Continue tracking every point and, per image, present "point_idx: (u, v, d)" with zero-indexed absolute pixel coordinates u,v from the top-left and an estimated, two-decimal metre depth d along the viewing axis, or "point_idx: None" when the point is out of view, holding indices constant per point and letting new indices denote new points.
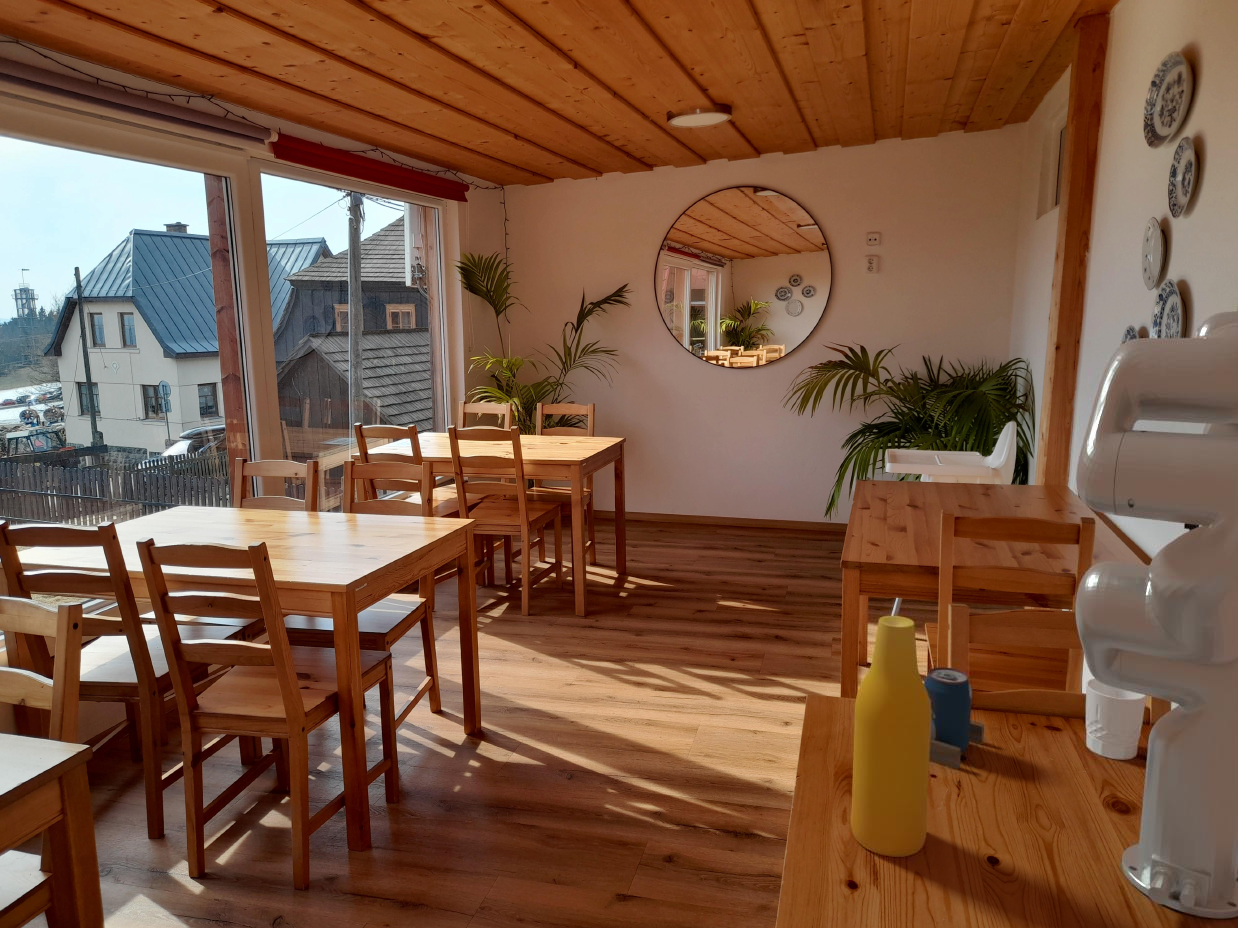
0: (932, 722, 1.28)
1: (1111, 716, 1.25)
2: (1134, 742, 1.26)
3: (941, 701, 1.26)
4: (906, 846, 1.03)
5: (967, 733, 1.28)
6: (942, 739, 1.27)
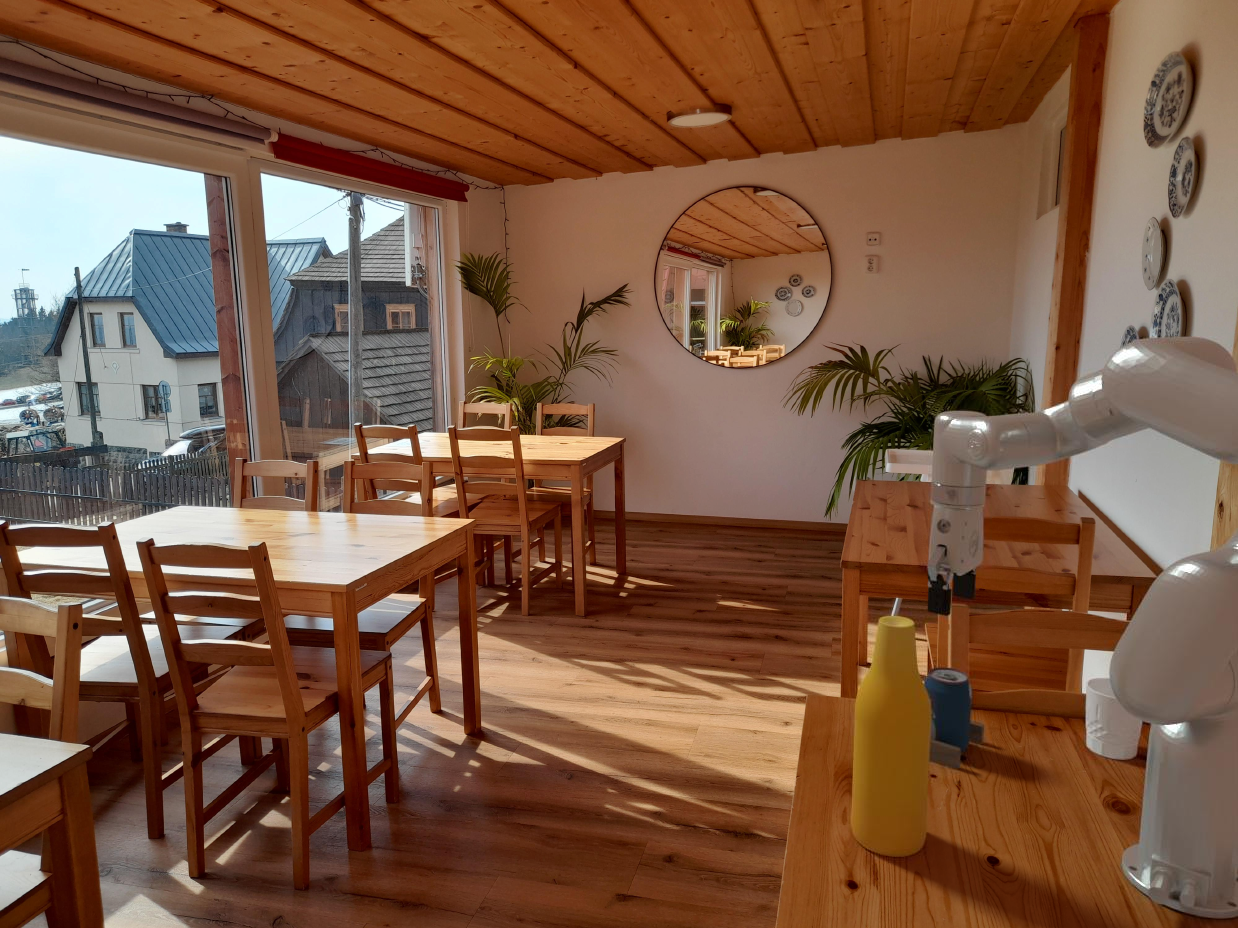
0: (932, 722, 1.28)
1: (1111, 716, 1.25)
2: (1134, 742, 1.26)
3: (941, 701, 1.26)
4: (906, 846, 1.03)
5: (967, 733, 1.28)
6: (942, 739, 1.27)
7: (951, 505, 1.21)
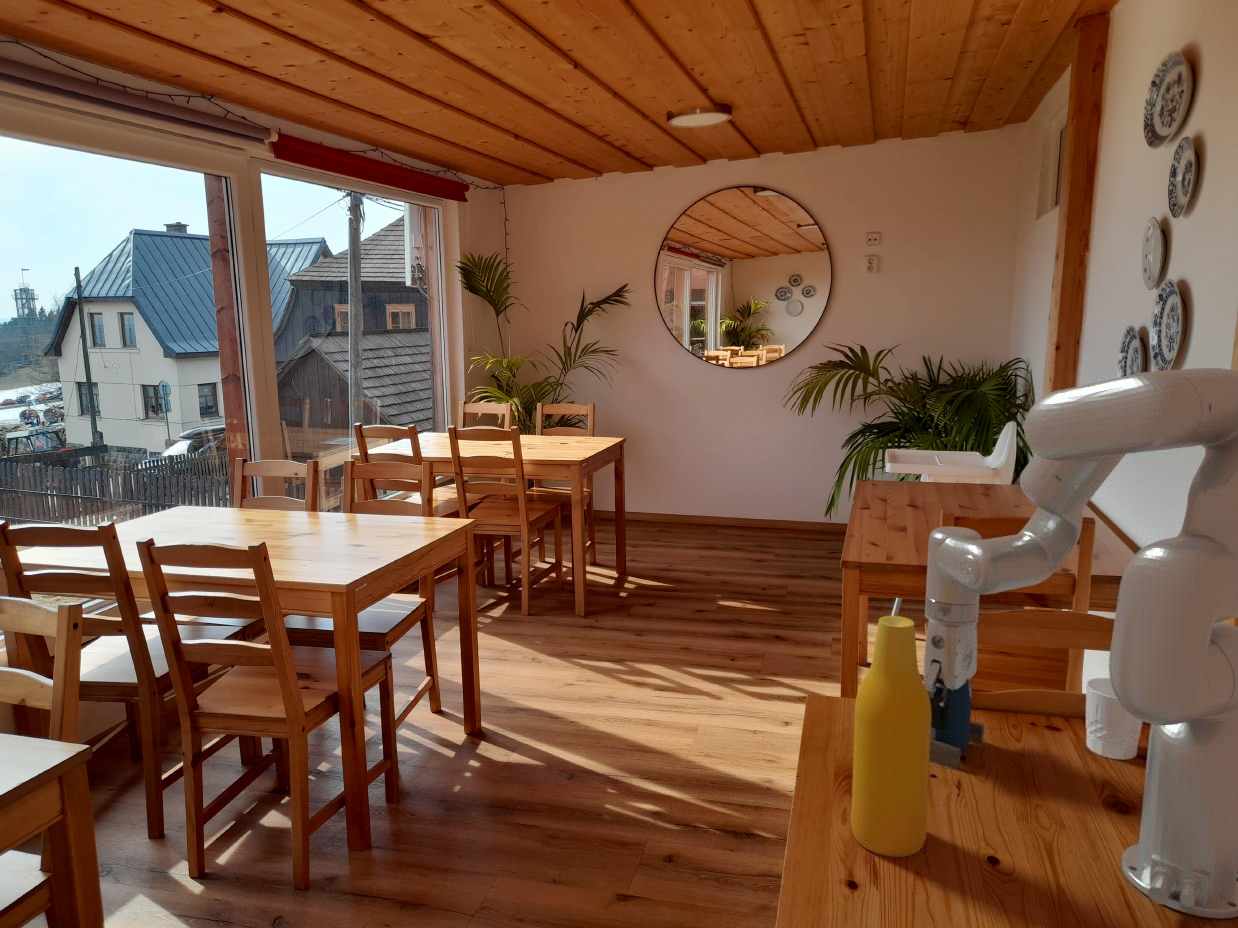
0: None
1: (1111, 716, 1.25)
2: (1134, 742, 1.26)
3: None
4: (906, 846, 1.03)
5: (967, 733, 1.28)
6: (942, 739, 1.27)
7: (945, 621, 1.24)
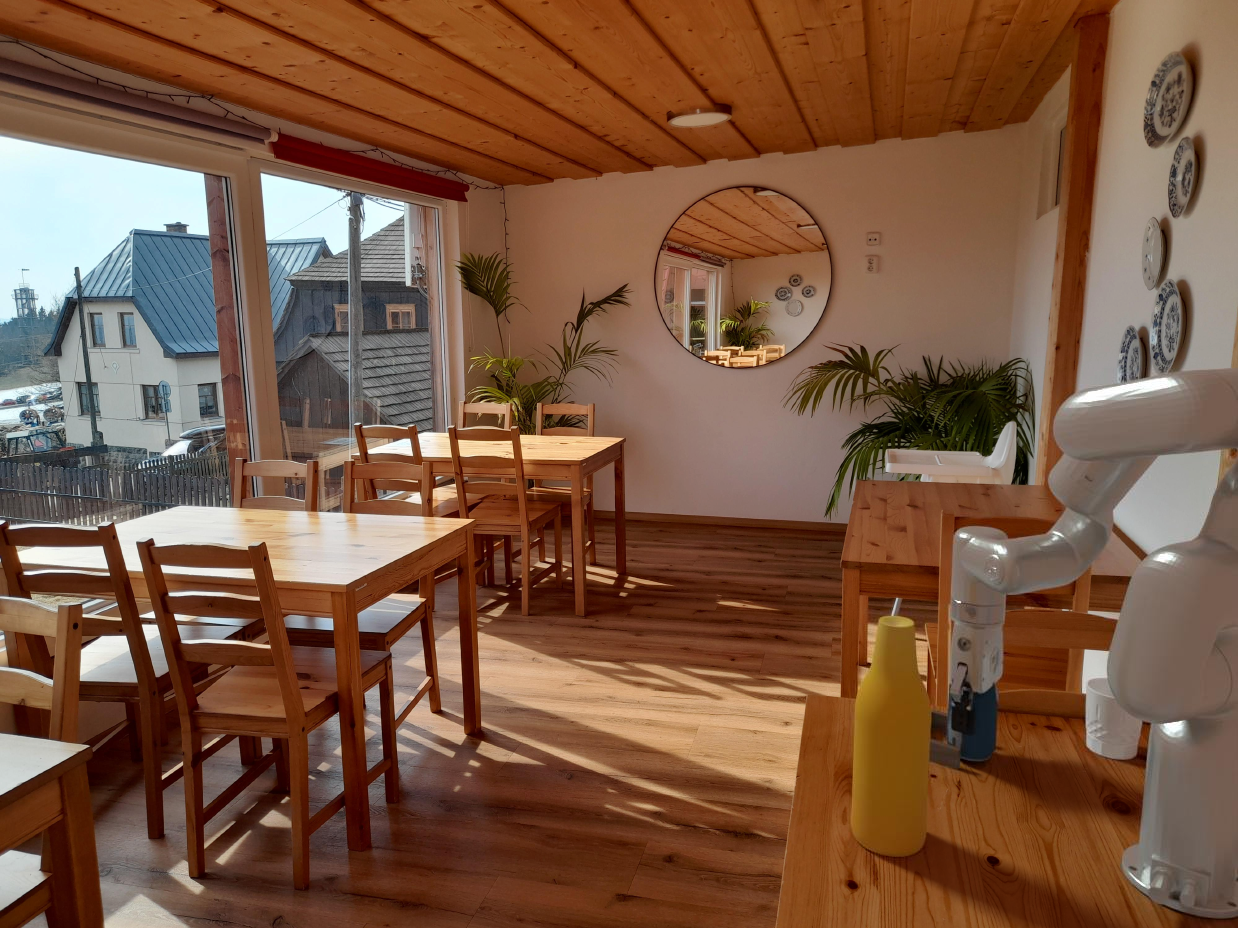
0: None
1: (1111, 716, 1.25)
2: (1134, 742, 1.26)
3: None
4: (906, 846, 1.03)
5: (994, 737, 1.25)
6: (969, 744, 1.24)
7: (971, 623, 1.22)
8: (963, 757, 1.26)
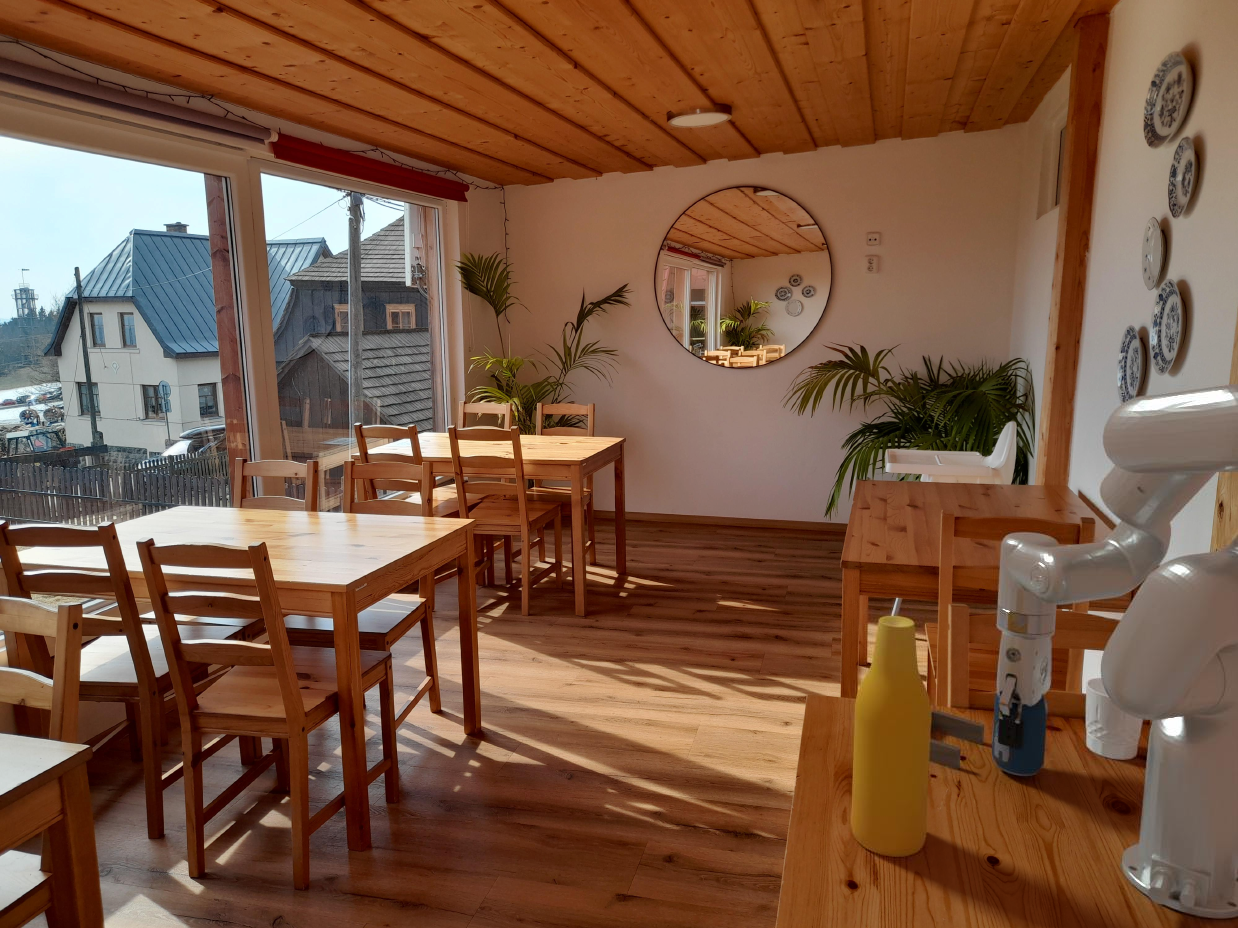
0: None
1: (1111, 716, 1.25)
2: (1134, 742, 1.26)
3: None
4: (906, 846, 1.03)
5: (1043, 751, 1.20)
6: (1017, 758, 1.20)
7: (1021, 633, 1.17)
8: (1010, 771, 1.21)
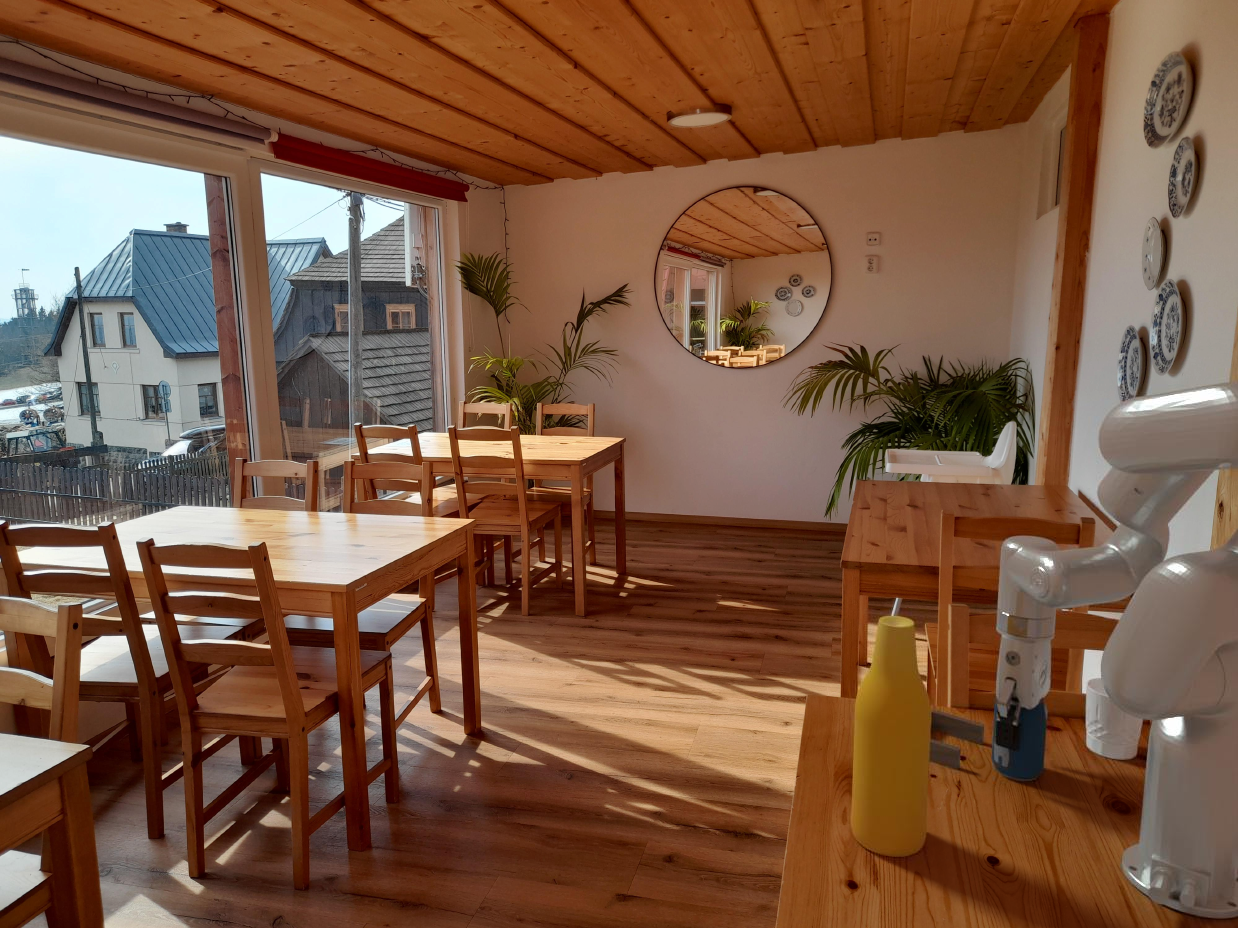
0: None
1: (1111, 716, 1.25)
2: (1134, 742, 1.26)
3: None
4: (906, 846, 1.03)
5: (1042, 756, 1.20)
6: (1016, 763, 1.20)
7: (1020, 637, 1.17)
8: (1010, 777, 1.21)
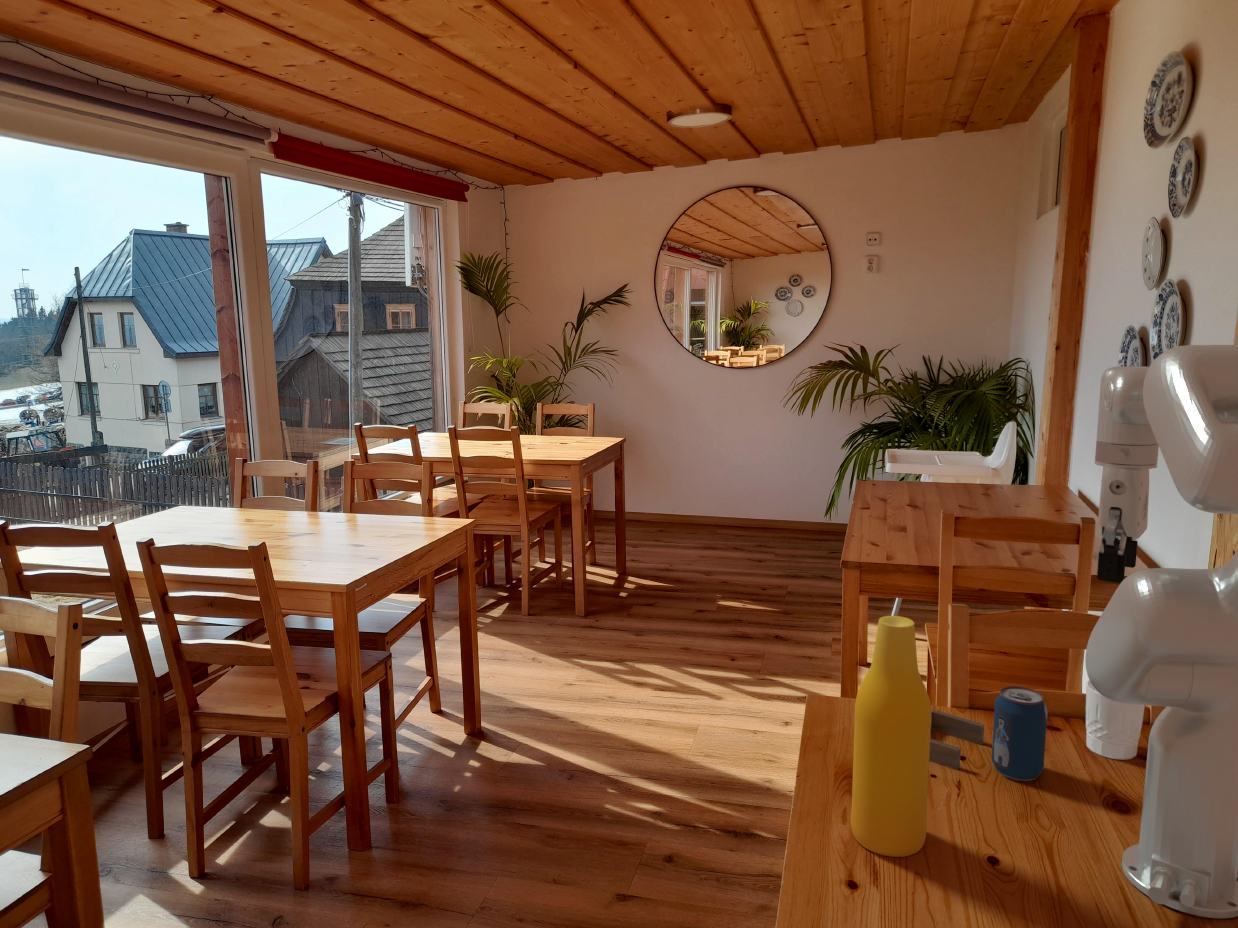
0: (1005, 744, 1.21)
1: (1111, 716, 1.25)
2: (1134, 742, 1.26)
3: (1015, 723, 1.19)
4: (906, 846, 1.03)
5: (1042, 756, 1.20)
6: (1016, 763, 1.20)
7: (1125, 465, 1.14)
8: (1010, 777, 1.21)
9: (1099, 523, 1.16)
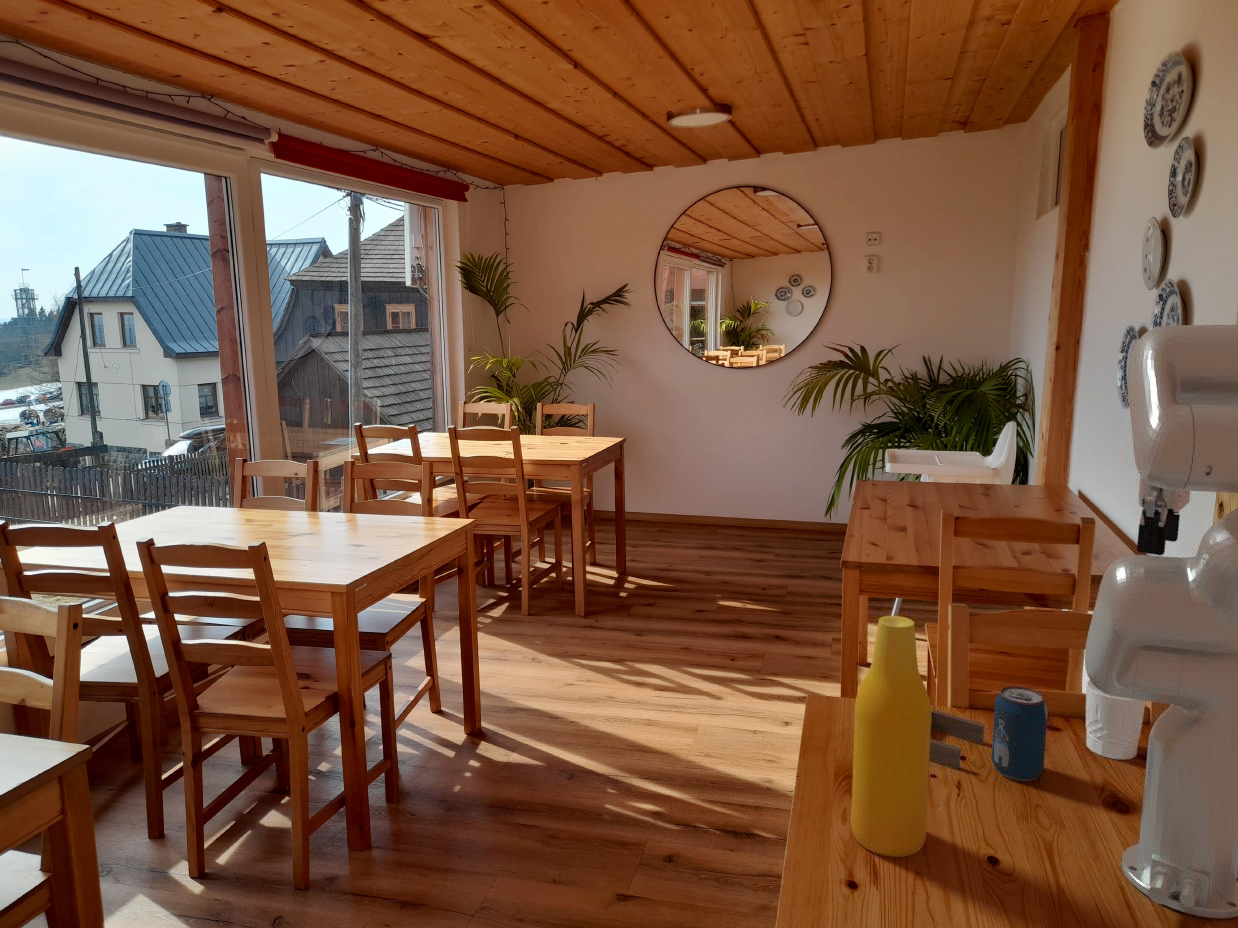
0: (1005, 744, 1.21)
1: (1111, 716, 1.25)
2: (1134, 742, 1.26)
3: (1015, 723, 1.19)
4: (906, 846, 1.03)
5: (1042, 757, 1.20)
6: (1016, 763, 1.20)
7: None
8: (1010, 777, 1.21)
9: (1140, 495, 1.17)
